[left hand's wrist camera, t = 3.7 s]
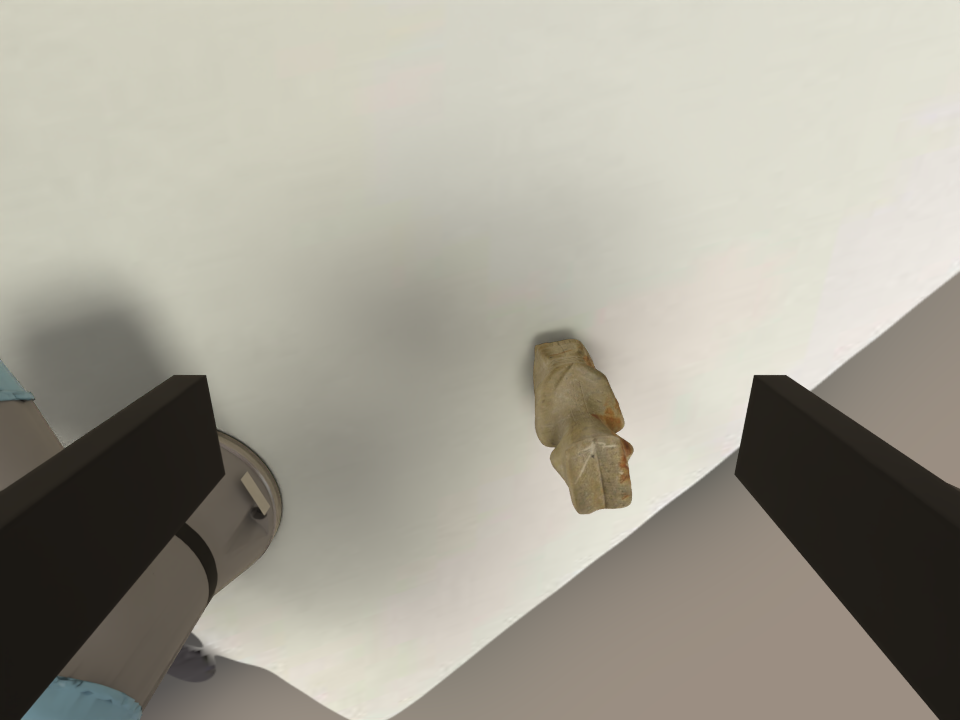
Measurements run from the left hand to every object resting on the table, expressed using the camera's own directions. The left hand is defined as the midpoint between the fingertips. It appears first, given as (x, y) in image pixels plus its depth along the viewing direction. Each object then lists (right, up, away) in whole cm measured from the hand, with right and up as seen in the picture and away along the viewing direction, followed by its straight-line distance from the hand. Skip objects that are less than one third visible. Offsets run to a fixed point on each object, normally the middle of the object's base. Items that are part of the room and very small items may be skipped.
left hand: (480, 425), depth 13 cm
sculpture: (+7, +1, +30) cm, 31 cm away
